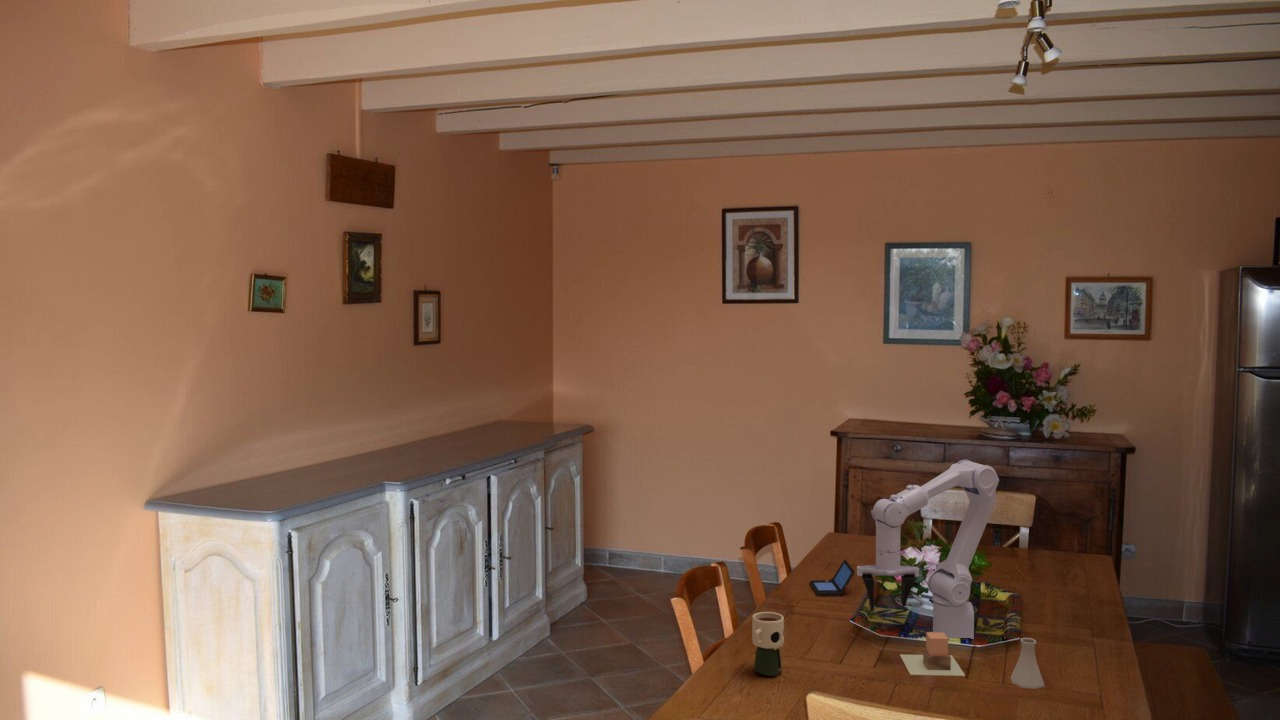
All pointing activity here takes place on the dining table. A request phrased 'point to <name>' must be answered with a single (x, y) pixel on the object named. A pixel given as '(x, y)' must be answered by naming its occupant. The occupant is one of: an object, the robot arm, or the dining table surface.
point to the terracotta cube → (936, 644)
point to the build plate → (919, 668)
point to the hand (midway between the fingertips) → (887, 604)
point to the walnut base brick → (936, 661)
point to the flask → (1027, 667)
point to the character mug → (767, 642)
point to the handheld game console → (834, 582)
